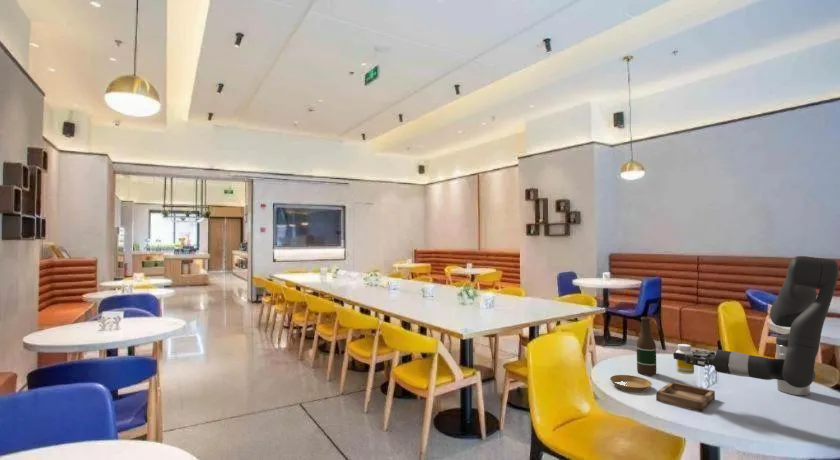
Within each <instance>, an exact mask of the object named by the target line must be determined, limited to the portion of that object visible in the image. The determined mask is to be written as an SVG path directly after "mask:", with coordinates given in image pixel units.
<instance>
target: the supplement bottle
mask: <svg viewBox="0 0 840 460" xmlns="http://www.w3.org/2000/svg"><path fill="white" fill-rule="evenodd" d="M677 349H678V350H676V351H675V353H681V354H689V355H693V352H691V351H692V346H691V345H690V344H686V343H679V344H677ZM690 360H693V359H691V358H690ZM675 367H676V368H675V369H676V372H677V373H679V374H683V375H694V373H695V365H692V364H687V363H686V362H685V361H683V360H677V359H675Z"/></svg>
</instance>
